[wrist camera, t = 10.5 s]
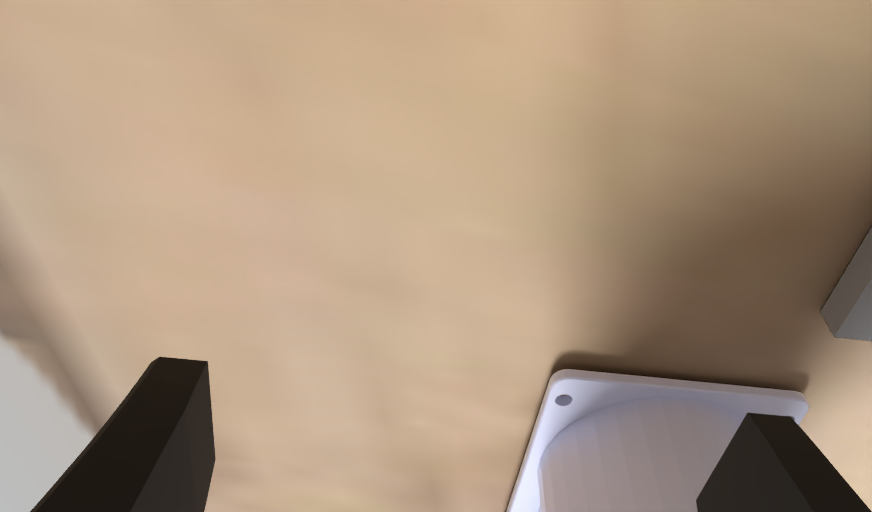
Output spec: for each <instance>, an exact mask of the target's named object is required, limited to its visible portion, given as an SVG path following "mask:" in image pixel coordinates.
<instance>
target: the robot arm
mask: <svg viewBox="0 0 872 512" xmlns="http://www.w3.org/2000/svg"><path fill="white" fill-rule="evenodd" d="M565 394H566V395H565ZM560 395H565V396H560ZM808 409H809V404H808V401H807V399H806V397H805V395H804V394H802V393H801V392H797V391H790V390H780V389H769V388H759V387H749V386H738V385H728V384H718V383H708V382H697V381H687V380H677V379H667V378H656V377H646V376H636V375H625V374H615V373H605V372H595V371H584V370H574V369H563V370H560V371H557V372H556V373H554V374H553V375H552V377H551V378H550V380H549V384H548V387H547V390H546V393H545V396H544V399H543V402H542V405H541V408H540V411H539V414H538V417H537V420H536V423H535V426H534V429H533V432H532V435H531V438H530V441H529V444H528V447H527V450H526V453H525V456H524V459H523V463H522V466H521V469H520V472H519V475H518V478H517V481H516V484H515V487H514V490H513V493H512V496H511V499H510V502H509V505H508V508H507V511H506V512H871V510H870V509H869V508H868V507H867V506H866V504H865V503H864V502H863V501H862V500H861V499H860V497H859V496H858V495H857V494H856V493H855V491H854V490H853V489H852V488H851V487H850V486H849V484H848V483H847V482H846V481H845V480H844V478H843V477H842V476H841V475H840V474H839V472H838V471H837V470H836V469H835V468H834V466H833V465H832V464H831V463H830V462H829V460H828V459H827V458H826V457H825V456H824V455H823V453H822V452H821V451H820V450H819V449H818V447H817V446H816V445H815V444H814V443H813V442H812V440H811V439H810V438H809V437H808V436H807V435H806V433H805V432H804V431H803V430H802V429H801V428H800V427H799V424H800V422H801V421H802V419H803V418H804V416H805V415H806V413H807V412H808ZM214 463H215V448H214V436H213V423H212V410H211V397H210V385H209V372H208V361H198V360H188V359H177V358H167V357H159V358H157V359H156V360H154V361H152V362H151V363H150V365H149V366H148V368H147V369H146V370H145V372H144V373H143V375H142V376H141V377H140V379H139V380H138V381H137V383H136V384H135V385H134V387H133V388H132V389H131V391H130V392H129V393H128V395H127V396H126V397H125V399H124V400H123V401H122V403H121V404H120V405H119V407H118V408H117V409H116V410H115V412H114V413H113V414H112V416H111V417H110V418H109V419H108V421H107V422H106V423H105V424H104V426H103V427H102V428H101V429H100V431H99V432H98V433H97V434H96V436H95V437H94V438H93V439H92V440H91V442H90V443H89V444H88V445H87V447H86V448H85V449H84V450H83V451H82V453H81V454H80V455H79V456H78V457H77V458H76V460H75V461H74V462H73V463H72V464H71V465H70V467H69V468H68V469H67V470H66V471H65V472H64V474H63V475H62V476H61V477H60V478H59V480H58V481H57V482H56V483H55V484H54V485H53V487H52V488H51V489H50V490H49V491H48V492H47V493H46V495H45V496H44V497H43V498H42V499H41V500H40V501H39V502H38V504H37V505H36V506H35V507H34V508H33V509H32V510H31V511H30V512H204V510H205V505H206V501H207V496H208V491H209V487H210V482H211V477H212V472H213V468H214Z"/></svg>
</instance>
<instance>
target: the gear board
mask: <svg viewBox="0 0 872 512" xmlns="http://www.w3.org/2000/svg"><path fill="white" fill-rule="evenodd" d="M820 313H821V315H822V316H823V318H824V320H825V322H826V324H827V325H828V327H829V329H830V331H831V333H832V334H833V336H834V337H836V338H846V339H856V340H866V341H872V227H871V229H870V230H869V232H868V234H867V235H866V237H865V239H864V240H863V242H862V244H861V245H860V247H859V249H858V250H857V252H856V253H855V255H854V257H853V258H852V260H851V262H850V263H849V265H848V267H847V268H846V270H845V272H844V273H843V275H842V277H841V278H840V280H839V282H838V283H837V285H836V287H835V288H834V290H833V292H832V293H831V295H830V297H829V298H828V300H827V302H826V303H825V305H824V306H823V308H822V310H821V311H820Z"/></svg>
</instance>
